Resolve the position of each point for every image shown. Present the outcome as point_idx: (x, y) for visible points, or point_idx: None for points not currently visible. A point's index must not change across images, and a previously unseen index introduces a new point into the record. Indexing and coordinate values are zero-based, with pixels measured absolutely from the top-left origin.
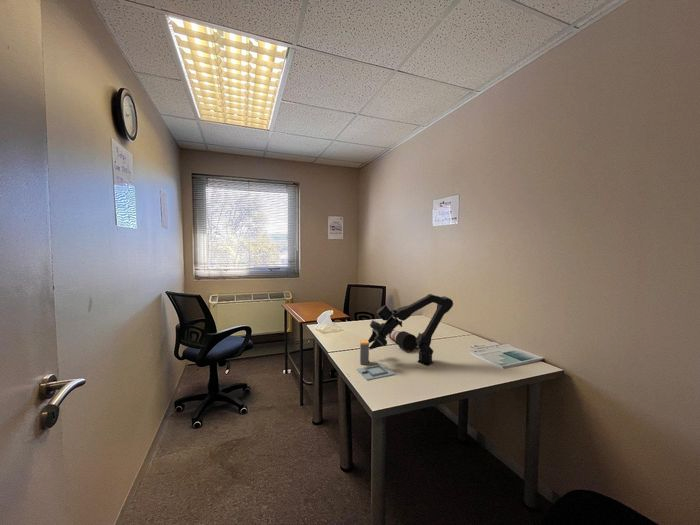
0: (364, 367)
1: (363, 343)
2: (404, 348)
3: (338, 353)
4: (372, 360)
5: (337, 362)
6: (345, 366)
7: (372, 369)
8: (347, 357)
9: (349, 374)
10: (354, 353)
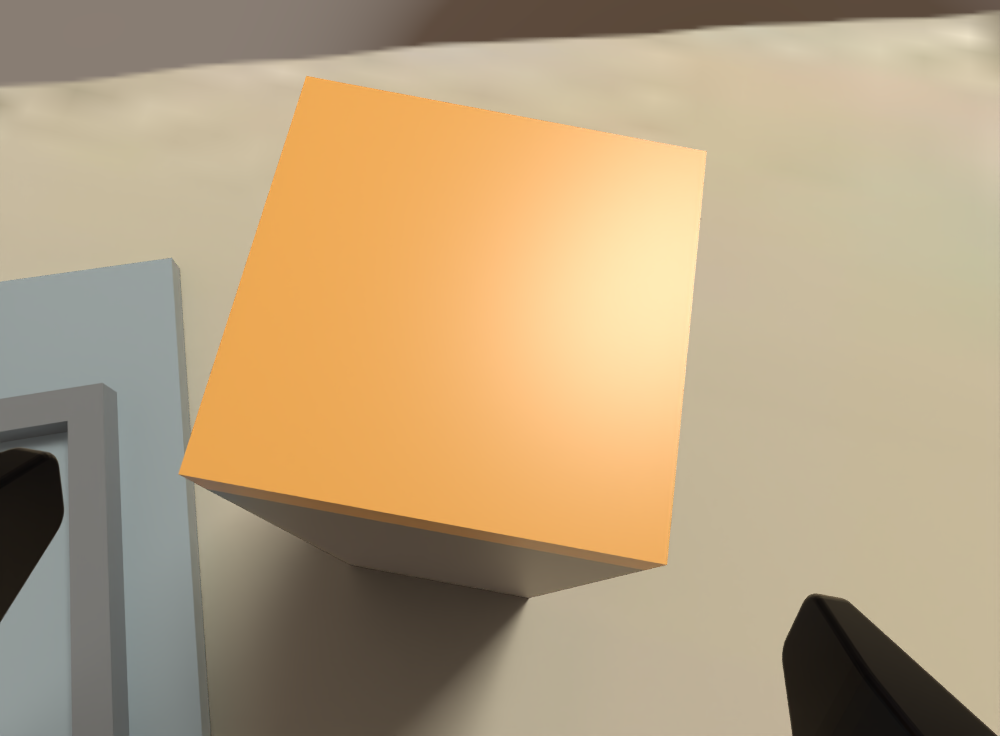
0: (93, 387)
1: (271, 203)
2: None
3: (962, 123)
4: (552, 727)
5: (570, 39)
6: None
7: None
8: (769, 233)
9: (55, 116)
10: (970, 410)
